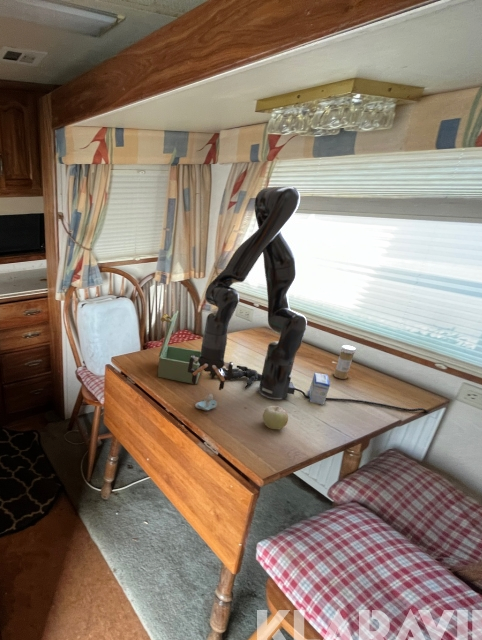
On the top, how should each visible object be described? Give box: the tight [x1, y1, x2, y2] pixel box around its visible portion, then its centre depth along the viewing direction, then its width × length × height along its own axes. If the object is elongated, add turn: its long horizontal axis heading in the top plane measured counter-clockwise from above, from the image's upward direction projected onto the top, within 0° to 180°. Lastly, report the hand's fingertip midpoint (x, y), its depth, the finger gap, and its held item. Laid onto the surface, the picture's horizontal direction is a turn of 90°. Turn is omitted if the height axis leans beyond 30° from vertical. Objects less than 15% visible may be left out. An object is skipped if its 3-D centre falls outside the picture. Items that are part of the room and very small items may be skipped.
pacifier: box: [194, 393, 218, 411], centre depth 127 cm, size 7×6×6 cm
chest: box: [157, 345, 201, 385], centre depth 150 cm, size 16×14×9 cm
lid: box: [158, 310, 180, 358], centre depth 148 cm, size 16×14×5 cm
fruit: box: [262, 405, 289, 430], centre depth 116 cm, size 8×7×8 cm
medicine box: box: [308, 372, 331, 405], centre depth 131 cm, size 8×4×9 cm, turn 152°
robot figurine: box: [209, 365, 262, 389], centre depth 146 cm, size 18×4×20 cm
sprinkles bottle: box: [333, 344, 356, 380], centre depth 145 cm, size 5×5×13 cm
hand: (207, 386), depth 125 cm, fingers open, 8 cm apart
